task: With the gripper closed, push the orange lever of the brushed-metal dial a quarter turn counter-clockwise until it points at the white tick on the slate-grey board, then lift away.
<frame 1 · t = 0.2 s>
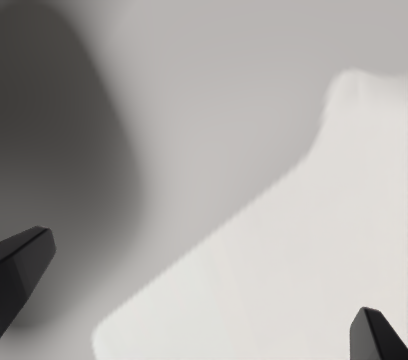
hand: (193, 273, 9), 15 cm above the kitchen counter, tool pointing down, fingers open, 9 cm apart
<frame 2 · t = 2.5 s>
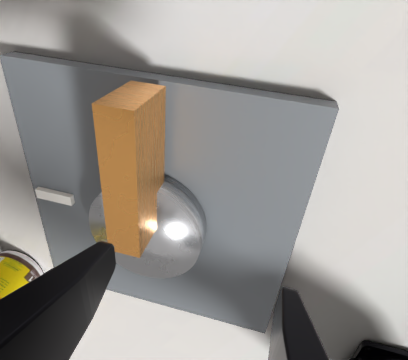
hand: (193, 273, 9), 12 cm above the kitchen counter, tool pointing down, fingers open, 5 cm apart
supplement bottle: (25, 266, 33), on the kitchen counter
board: (160, 207, 24), on the kitchen counter
dial: (139, 204, 19), point 4 cm above the kitchen counter, hinge at 0.0°
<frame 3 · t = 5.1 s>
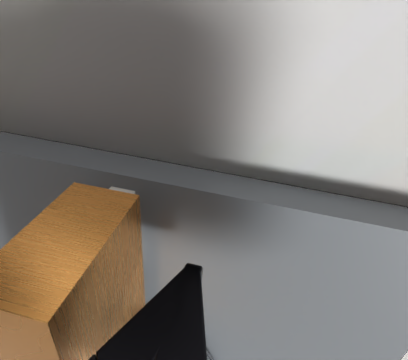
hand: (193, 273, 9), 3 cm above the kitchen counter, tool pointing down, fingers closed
board: (145, 331, 16), on the kitchen counter
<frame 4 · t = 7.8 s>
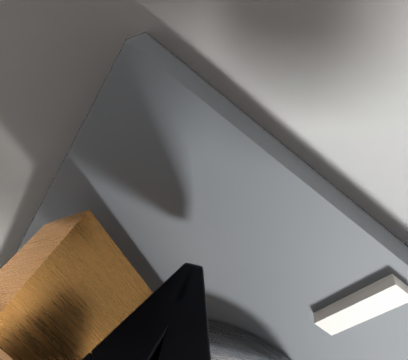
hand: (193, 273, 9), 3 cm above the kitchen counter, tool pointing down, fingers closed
board: (216, 346, 15), on the kitchen counter
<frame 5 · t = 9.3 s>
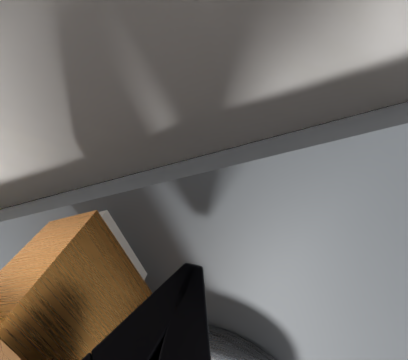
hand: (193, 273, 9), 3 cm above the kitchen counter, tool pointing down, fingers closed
board: (207, 349, 16), on the kitchen counter
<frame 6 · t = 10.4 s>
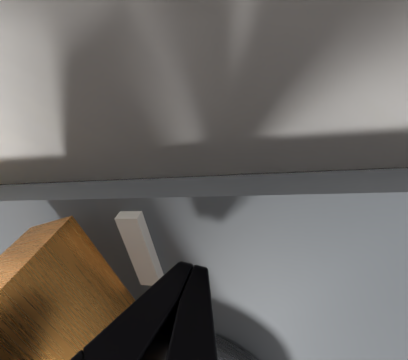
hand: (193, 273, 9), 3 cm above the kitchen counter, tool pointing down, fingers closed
board: (197, 351, 16), on the kitchen counter
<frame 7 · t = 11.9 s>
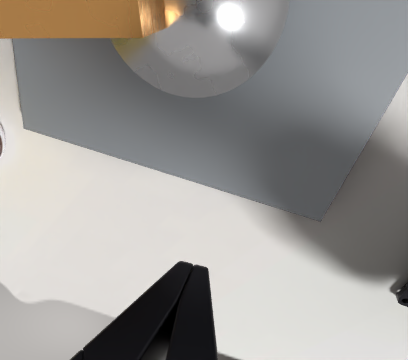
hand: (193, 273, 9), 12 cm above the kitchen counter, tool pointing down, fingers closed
dial: (115, 2, 13), point 4 cm above the kitchen counter, hinge at 104.6°
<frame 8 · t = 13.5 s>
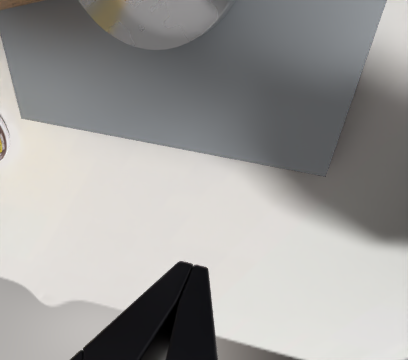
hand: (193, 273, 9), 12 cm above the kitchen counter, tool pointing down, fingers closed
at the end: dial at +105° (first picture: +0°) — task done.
